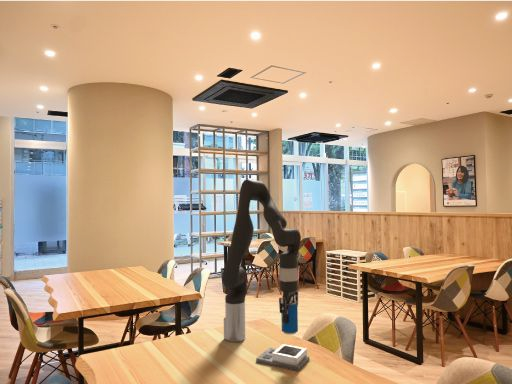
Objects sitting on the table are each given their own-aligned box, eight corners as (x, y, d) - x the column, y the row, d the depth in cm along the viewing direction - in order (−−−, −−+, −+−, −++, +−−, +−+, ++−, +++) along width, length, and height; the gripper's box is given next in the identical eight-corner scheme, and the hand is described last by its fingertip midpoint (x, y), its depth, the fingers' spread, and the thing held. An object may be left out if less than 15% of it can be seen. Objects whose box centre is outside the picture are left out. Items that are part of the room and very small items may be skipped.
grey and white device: (256, 362, 149) (256, 350, 149) (269, 351, 160) (269, 340, 160) (298, 371, 141) (297, 359, 141) (309, 359, 151) (309, 348, 151)
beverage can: (279, 330, 151) (278, 301, 151) (293, 328, 153) (292, 299, 154) (286, 336, 145) (285, 305, 145) (300, 333, 147) (300, 303, 148)
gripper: (287, 274, 158) (288, 314, 157) (272, 281, 145) (273, 324, 145) (304, 276, 154) (304, 316, 154) (290, 283, 142) (290, 327, 141)
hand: (289, 320), depth 149 cm, fingers closed on beverage can, 6 cm apart
